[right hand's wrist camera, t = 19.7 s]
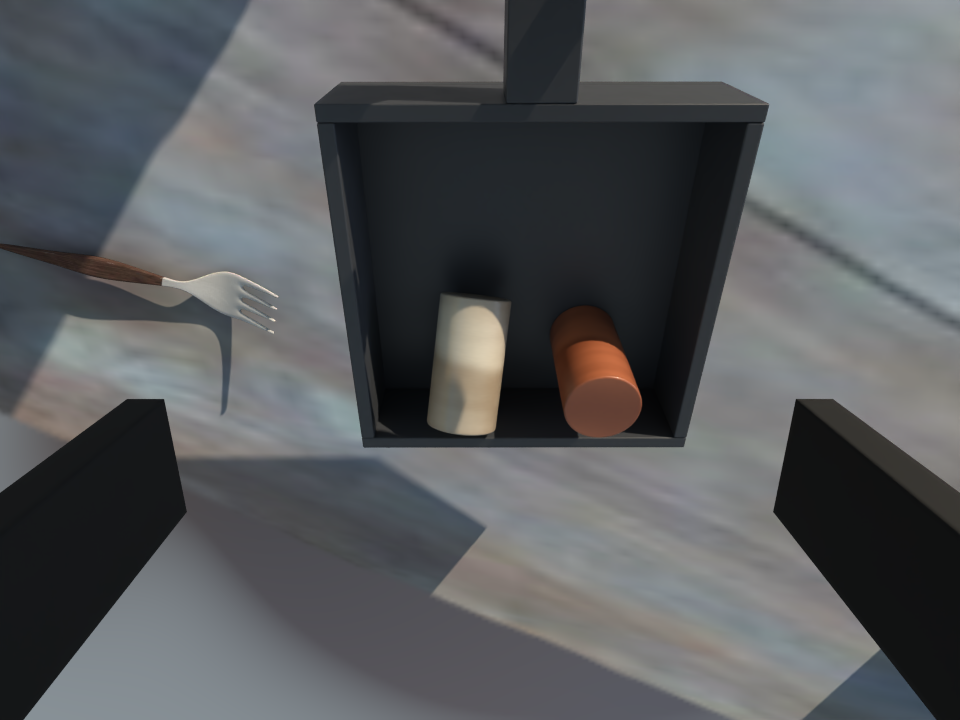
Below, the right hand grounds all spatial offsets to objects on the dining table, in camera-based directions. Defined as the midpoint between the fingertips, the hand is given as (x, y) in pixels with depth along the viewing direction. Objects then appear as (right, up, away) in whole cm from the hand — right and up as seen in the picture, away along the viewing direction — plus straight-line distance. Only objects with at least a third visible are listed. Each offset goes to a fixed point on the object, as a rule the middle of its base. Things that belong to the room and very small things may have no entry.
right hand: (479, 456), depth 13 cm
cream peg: (0, +5, +14) cm, 15 cm away
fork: (-19, +7, +22) cm, 30 cm away
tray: (+2, +11, +13) cm, 17 cm away
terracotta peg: (+5, +3, +17) cm, 18 cm away
